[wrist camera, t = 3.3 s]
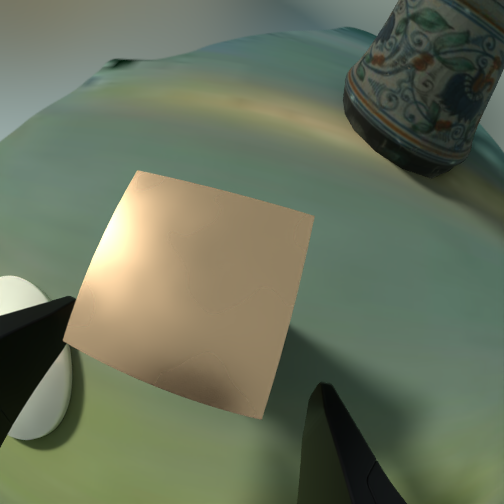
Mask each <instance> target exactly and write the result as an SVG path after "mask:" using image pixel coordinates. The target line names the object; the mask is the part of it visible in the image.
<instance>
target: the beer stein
mask: <svg viewBox="0 0 504 504" xmlns="http://www.w3.org/2000/svg"><path fill="white" fill-rule="evenodd" d="M503 69H504V0H399V1H398V3H397V4H396V6H395V8H394V10H393V11H392V13H391V15H390V17H389V18H388V20H387V22H386V23H385V25H384V26H383V28H382V29H381V31H380V33H379V34H378V36H377V37H376V39H375V40H374V42H373V43H372V45H371V46H370V48H369V49H368V50H367V52H366V53H365V54H364V56H363V57H362V58H361V59H360V60H359V61H358V62H357V63H356V64H355V65H354V66H353V67H352V68H351V69H350V70H349V72H348V73H347V75H346V79H345V88H344V97H343V102H344V110H345V115H346V117H347V118H348V120H349V122H350V124H351V125H352V127H353V129H354V131H356V132H357V133H358V134H359V135H360V136H361V137H362V138H363V139H364V140H365V141H366V142H367V143H368V144H369V145H370V146H371V147H372V148H373V149H374V150H375V151H376V152H378V153H379V154H381V155H382V156H384V157H386V158H387V159H389V160H390V161H392V162H393V163H395V164H396V165H398V166H399V167H401V168H402V169H405V170H408V171H411V172H414V173H417V174H420V175H423V176H426V177H428V178H434V177H436V176H438V175H440V174H443V173H445V172H447V171H449V170H451V169H452V168H453V167H454V166H456V165H457V164H459V163H461V162H463V161H464V160H465V159H466V158H467V156H468V155H469V153H470V150H471V146H472V141H473V137H474V134H475V132H476V129H477V126H478V124H479V122H480V119H481V117H482V115H483V112H484V110H485V108H486V106H487V104H488V102H489V100H490V98H491V96H492V93H493V92H494V90H495V88H496V85H497V83H498V80H499V78H500V76H501V74H502V72H503Z"/></svg>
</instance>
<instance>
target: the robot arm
mask: <svg viewBox="0 0 504 504" xmlns="http://www.w3.org/2000/svg"><path fill="white" fill-rule="evenodd" d="M75 302H76V299H75V298H73V297H71V296H66V297H63V298H59V299H56V300H52V301H49V302H45V303H42V304H39V305H35V306H32V307H28V308H25V309H21V310H18V311H14V312H11V313H7V314H4V315H0V447H1V445H2V443H3V441H4V440H5V438H6V436H7V434H8V433H9V431H10V429H11V428H12V425H13V424H14V422H15V421H16V419H17V417H18V416H19V414H20V412H21V411H22V409H23V408H24V406H25V404H26V403H27V401H28V400H29V398H30V397H31V395H32V394H33V392H34V391H35V389H36V388H37V386H38V385H39V383H40V382H41V380H42V379H43V377H44V376H45V374H46V373H47V372H48V370H49V369H50V367H51V366H52V365H53V363H54V362H55V360H56V359H57V358H58V356H59V355H60V353H61V352H62V350H63V349H64V347H65V346H66V344H67V343H66V342H64V341H63V338H64V335H65V332H66V328H67V325H68V322H69V319H70V316H71V313H72V310H73V308H74V305H75ZM297 504H407V503H406V502H405V500H404V499H403V498H402V497H401V495H400V494H399V493H398V491H397V490H396V489H395V487H394V486H393V485H392V483H391V482H390V480H389V479H388V477H387V476H386V474H385V473H384V471H383V470H382V468H381V466H380V465H379V463H378V461H376V458H375V456H374V455H373V453H372V451H371V449H370V448H369V446H368V444H367V443H366V441H365V439H364V438H363V436H362V434H361V433H360V431H359V429H358V427H357V426H356V424H355V422H354V421H353V419H352V417H351V416H350V414H349V412H348V411H347V409H346V407H345V405H344V404H343V402H342V400H341V399H340V397H339V395H338V394H337V392H336V390H335V389H334V387H333V385H332V384H330V383H325V382H320V383H319V384H318V385H317V387H316V388H315V390H314V392H313V393H312V395H311V396H310V399H309V403H308V409H307V415H306V421H305V427H304V432H303V438H302V451H301V465H300V478H299V490H298V500H297Z"/></svg>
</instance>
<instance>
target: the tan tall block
mask: <svg viewBox="0 0 504 504" xmlns="http://www.w3.org/2000/svg"><path fill="white" fill-rule="evenodd" d="M313 221H314V216H313V215H309V214H306V213H303V212H299V211H296V210H293V209H289V208H286V207H282V206H279V205H275V204H272V203H268V202H264V201H261V200H257V199H254V198H250V197H246V196H242V195H239V194H235V193H231V192H227V191H223V190H219V189H215V188H211V187H207V186H203V185H199V184H195V183H191V182H187V181H182V180H178V179H174V178H169V177H165V176H160V175H156V174H151V173H147V172H142V171H137V172H136V174H135V176H134V177H133V179H132V181H131V183H130V184H129V186H128V188H127V190H126V192H125V193H124V195H123V197H122V199H121V201H120V203H119V205H118V207H117V209H116V210H115V212H114V214H113V216H112V218H111V220H110V222H109V224H108V226H107V229H106V231H105V233H104V235H103V237H102V239H101V241H100V243H99V246H98V248H97V250H96V252H95V255H94V257H93V259H92V262H91V264H90V266H89V269H88V271H87V273H86V276H85V278H84V281H83V283H82V286H81V289H80V291H79V294H78V297H77V299H76V302H75V305H74V308H73V310H72V313H71V316H70V319H69V322H68V325H67V328H66V332H65V335H64V338H63V341H64V342H66V343H67V344H69V345H71V346H73V347H74V348H76V349H78V350H80V351H81V352H83V353H85V354H87V355H89V356H91V357H93V358H95V359H97V360H99V361H101V362H103V363H105V364H107V365H109V366H111V367H113V368H115V369H117V370H119V371H121V372H123V373H126V374H128V375H130V376H132V377H134V378H137V379H139V380H141V381H144V382H146V383H149V384H151V385H153V386H156V387H158V388H161V389H164V390H166V391H169V392H171V393H174V394H177V395H180V396H182V397H185V398H188V399H191V400H194V401H197V402H200V403H203V404H206V405H209V406H212V407H216V408H219V409H222V410H226V411H229V412H233V413H237V414H240V415H244V416H248V417H252V418H256V419H260V420H262V417H263V414H264V411H265V407H266V404H267V401H268V398H269V394H270V391H271V388H272V384H273V381H274V378H275V374H276V371H277V367H278V364H279V360H280V357H281V353H282V349H283V346H284V342H285V338H286V335H287V331H288V327H289V323H290V320H291V316H292V312H293V308H294V304H295V300H296V296H297V292H298V288H299V284H300V279H301V275H302V271H303V267H304V262H305V258H306V253H307V249H308V244H309V240H310V235H311V231H312V226H313Z"/></svg>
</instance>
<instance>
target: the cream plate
mask: <svg viewBox="0 0 504 504" xmlns="http://www.w3.org/2000/svg"><path fill="white" fill-rule="evenodd" d="M49 301H51V300H50V299H49V297H48V296H47V295H46V294H45V293H44V292H43V291H42V290H41V289H40V288H39V287H37V286H35V285H34V284H32V283H30V282H28V281H26V280H24V279H22V278H20V277H16V276H3V277H0V315H4V314H7V313H11V312H14V311H18V310H21V309H25V308H28V307H32V306H35V305H39V304H42V303H45V302H49ZM72 375H73V373H72V359H71V351H70V346H69V344H66V346H65V347H64V349H63V350H62V352H61V353H60V355H59V356H58V358H57V359H56V360H55V362H54V363H53V365H52V366H51V367H50V369H49V370H48V372H47V373H46V374H45V376H44V377H43V379H42V380H41V382H40V383H39V385H38V386H37V388H36V389H35V391H34V392H33V394H32V395H31V397H30V398H29V400H28V401H27V403H26V404H25V406H24V408H23V409H22V411H21V412H20V414H19V416H18V417H17V419H16V421H15V422H14V424H13V425H12V428H11V429H10V431H9V433H8V434H7V435H9V436H11V437H14V438H16V439H21V440H31V439H35V438H39V437H43V436H45V435H47V434H49V433H51V432H52V431H53V430H54V429H56V427H57V426H58V425H59V424H60V423H61V421H62V419H63V417H64V416H65V413H66V411H67V408H68V405H69V401H70V397H71V390H72Z"/></svg>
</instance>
